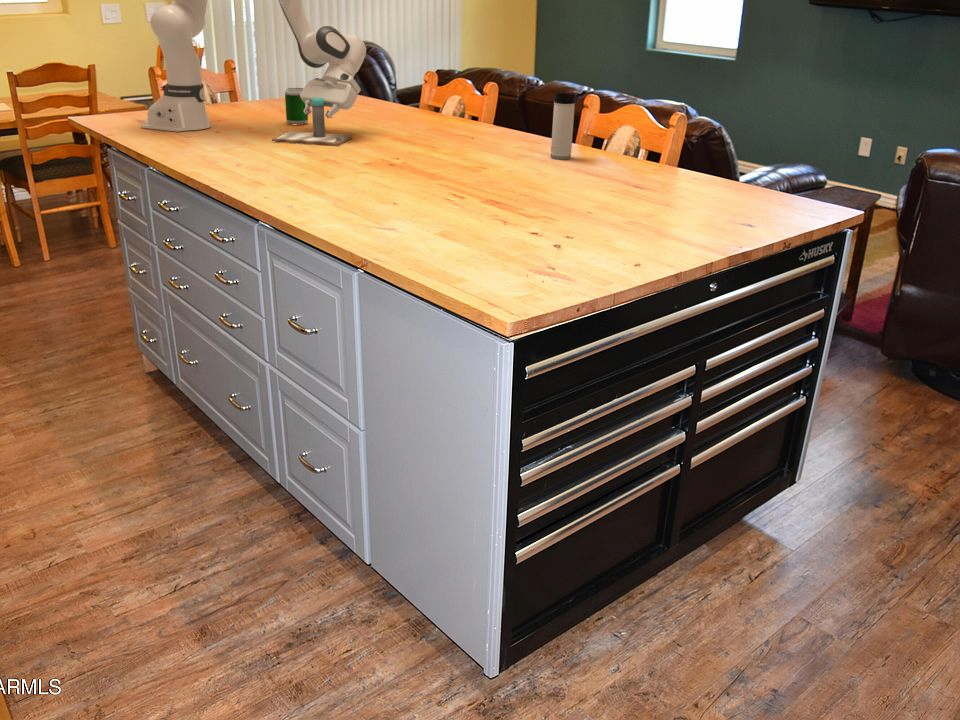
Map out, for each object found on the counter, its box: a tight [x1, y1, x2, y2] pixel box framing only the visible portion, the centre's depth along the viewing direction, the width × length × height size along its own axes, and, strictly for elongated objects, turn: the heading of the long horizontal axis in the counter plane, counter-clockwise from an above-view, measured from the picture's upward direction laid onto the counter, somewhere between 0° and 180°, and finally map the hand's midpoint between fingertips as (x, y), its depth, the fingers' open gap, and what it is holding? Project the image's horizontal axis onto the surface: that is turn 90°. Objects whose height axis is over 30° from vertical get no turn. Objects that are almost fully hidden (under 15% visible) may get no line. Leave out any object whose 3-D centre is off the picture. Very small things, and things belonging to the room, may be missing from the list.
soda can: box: [284, 87, 309, 126], centre depth 315 cm, size 8×8×12 cm
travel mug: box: [550, 91, 576, 161], centre depth 275 cm, size 6×7×20 cm
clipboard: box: [271, 130, 352, 147], centre depth 292 cm, size 22×15×2 cm
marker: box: [311, 98, 326, 138], centre depth 290 cm, size 4×4×12 cm
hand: (317, 115), depth 289 cm, fingers open, 8 cm apart
